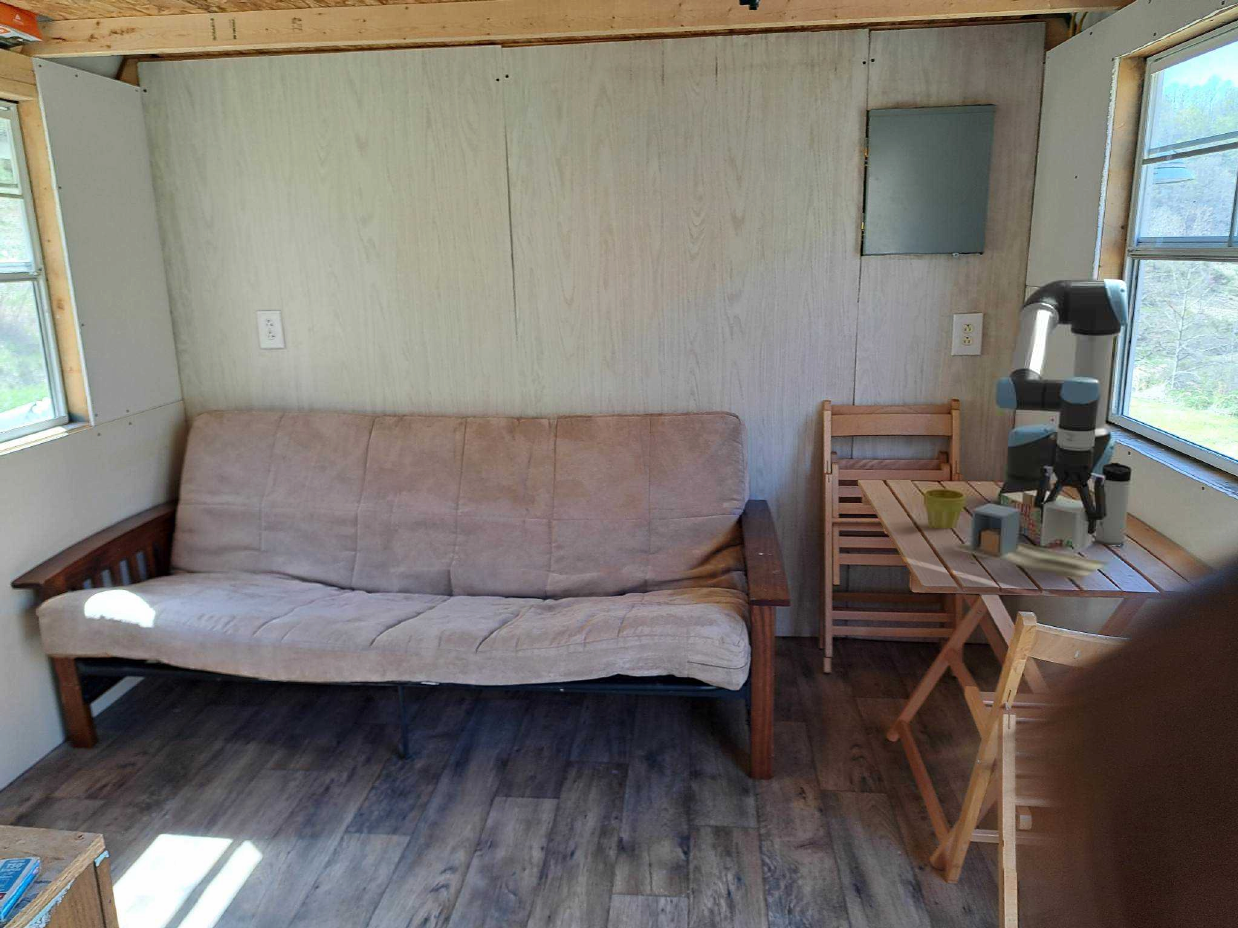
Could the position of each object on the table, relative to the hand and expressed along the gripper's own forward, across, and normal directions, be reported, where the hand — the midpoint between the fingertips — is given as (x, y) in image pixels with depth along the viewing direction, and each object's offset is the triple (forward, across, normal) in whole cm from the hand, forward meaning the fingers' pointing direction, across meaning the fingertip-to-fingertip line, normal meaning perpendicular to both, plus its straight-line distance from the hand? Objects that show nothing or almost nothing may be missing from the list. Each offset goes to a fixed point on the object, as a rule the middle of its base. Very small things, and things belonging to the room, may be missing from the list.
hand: (1066, 541), depth 204 cm
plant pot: (+7, -35, +6) cm, 36 cm away
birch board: (+6, -8, -2) cm, 10 cm away
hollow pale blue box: (+5, -16, -2) cm, 17 cm away
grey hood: (+1, 0, 0) cm, 1 cm away
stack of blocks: (+7, -15, +16) cm, 23 cm away
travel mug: (+7, 0, +24) cm, 25 cm away
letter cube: (+5, -16, -2) cm, 17 cm away
